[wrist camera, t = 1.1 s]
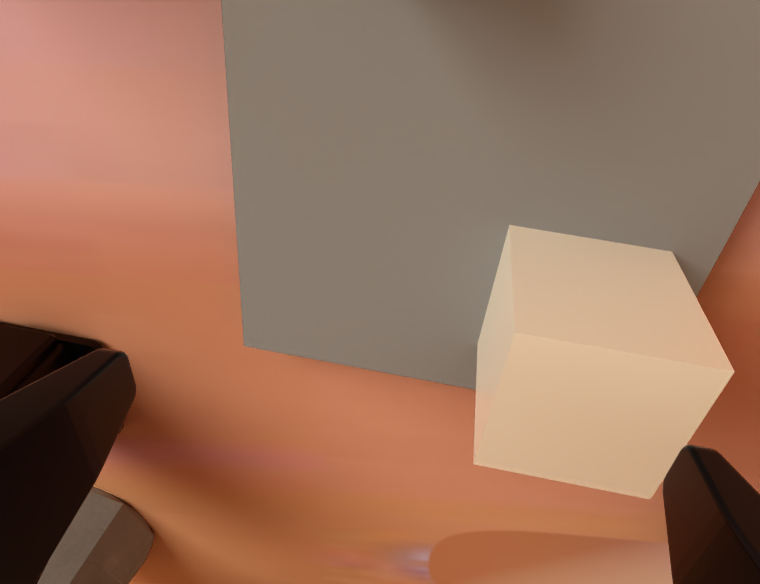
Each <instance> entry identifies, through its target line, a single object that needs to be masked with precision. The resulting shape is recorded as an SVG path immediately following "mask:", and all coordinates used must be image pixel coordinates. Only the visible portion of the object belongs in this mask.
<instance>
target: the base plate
mask: <svg viewBox="0 0 760 584" xmlns="http://www.w3.org/2000/svg"><path fill="white" fill-rule="evenodd" d="M221 5H222V20H223V35H224V50H225V65H226V80H227V95H228V111H229V126H230V141H231V156H232V171H233V186H234V202H235V217H236V232H237V247H238V262H239V277H240V292H241V308H242V323H243V338H244V346H247V347H252V348H257V349H262V350H268V351H273V352H278V353H284V354H289V355H294V356H299V357H305V358H310V359H315V360H321V361H326V362H331V363H336V364H342V365H347V366H352V367H358V368H363V369H368V370H373V371H379V372H384V373H389V374H395V375H400V376H405V377H410V378H416V379H421V380H426V381H432V382H437V383H442V384H447V385H453V386H458V387H463V388H469V389H474V390H476V372H477V344H478V340H479V336H480V333H481V329H482V325H483V321H484V318H485V314H486V310H487V306H488V303H489V299H490V295H491V292H492V288H493V284H494V280H495V277H496V273H497V269H498V265H499V262H500V258H501V254H502V250H503V247H504V243H505V239H506V235H507V232H508V228H509V225H514V226H520V227H526V228H532V229H538V230H544V231H550V232H556V233H562V234H568V235H574V236H580V237H587V238H593V239H599V240H605V241H611V242H617V243H623V244H629V245H635V246H641V247H647V248H653V249H659V250H665V251H671V252H673V254H674V256H675V258H676V260H677V262H678V264H679V266H680V268H681V270H682V271H683V273H684V275H685V277H686V279H687V281H688V283H689V285H690V287H691V289H692V291H693V293H694V294H695V296H696V297H697V295H698V294H699V292H700V290H701V288H702V286H703V284H704V283H705V281H706V279H707V277H708V275H709V273H710V272H711V270H712V268H713V266H714V264H715V262H716V261H717V259H718V257H719V255H720V253H721V251H722V250H723V248H724V246H725V244H726V242H727V240H728V239H729V237H730V235H731V233H732V231H733V229H734V228H735V226H736V224H737V222H738V220H739V218H740V216H741V215H742V213H743V211H744V209H745V207H746V205H747V204H748V202H749V200H750V198H751V196H752V194H753V193H754V191H755V189H756V187H757V185H758V183H759V182H760V0H221Z"/></svg>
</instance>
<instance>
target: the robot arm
mask: <svg viewBox="0 0 760 584" xmlns="http://www.w3.org/2000/svg"><path fill="white" fill-rule="evenodd" d="M135 395H136V384H135V380H134V377H133V373H132V370H131V366H130V363H129V359H128V357H127V355H126V354H125V353H124V352H122V351H117V350H111V349H105V348H103V347H102V346H101V345H100V344H99V343H98V342H96V341H93V340H89V339H84V338H79V337H74V336H69V335H64V334H58V333H53V332H48V331H43V330H38V329H32V328H27V327H22V326H17V325H12V324H6V323H1V322H0V584H37V583H38V581H39V579H40V577H41V575H42V573H43V571H44V569H45V567H46V565H47V563H48V561H49V559H50V558H51V556H52V554H53V553H54V551H55V549H56V548H57V546H58V544H59V543H60V541H61V539H62V538H63V536H64V534H65V532H66V531H67V529H68V527H69V526H70V524H71V522H72V521H73V519H74V517H75V516H76V514H77V512H78V511H79V509H80V507H81V506H82V504H83V502H84V501H85V499H86V497H87V496H88V494H89V492H90V490H91V489H92V487H93V485H94V483H95V482H96V480H97V478H98V476H99V474H100V472H101V470H102V468H103V466H104V464H105V461H106V459H107V457H108V455H109V453H110V451H111V448H112V446H113V444H114V442H115V440H116V438H117V436H118V434H119V433H120V431H121V430H122V429H123V427H124V420H125V418H126V416H127V414H128V412H129V410H130V407H131V405H132V403H133V401H134V398H135ZM663 498H664V507H665V517H666V526H667V535H668V544H669V553H670V561H671V571H672V579H673V584H760V494H759V493H758V492H757V491H756V490H755V489H754V488H753V487H752V486H751V485H750V484H749V483H748V482H747V481H746V480H745V479H744V478H743V477H742V476H741V475H740V474H739V473H738V472H737V470H736V469H735V468H734V467H733V466H732V465H731V464H730V463H729V462H728V461H727V460H726V459H725V458H724V457H723V456H722V455H721V454H720V453H719V452H717V451H716V450H714V449H711V448H706V447H700V446H694V445H686V446H684V447H683V448H682V449H681V450H680V452H679V454H678V455H677V457H676V459H675V460H674V462H673V464H672V466H671V467H670V469H669V471H668V472H667V474H666V476H665V478H664V482H663Z"/></svg>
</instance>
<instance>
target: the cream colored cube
mask: <svg viewBox="0 0 760 584" xmlns="http://www.w3.org/2000/svg"><path fill="white" fill-rule="evenodd" d="M734 372H735V371H734V369H733V367H732V366H731V364H730V362H729V360H728V358H727V356H726V354H725V352H724V350H723V348H722V346H721V344H720V343H719V341H718V339H717V337H716V335H715V333H714V331H713V329H712V327H711V325H710V323H709V321H708V319H707V318H706V316H705V314H704V312H703V310H702V308H701V306H700V304H699V302H698V300H697V298H696V296H695V294H694V293H693V291H692V289H691V287H690V285H689V283H688V281H687V279H686V277H685V275H684V273H683V271H682V270H681V268H680V266H679V264H678V262H677V260H676V258H675V256H674V254H673V252H671V251H665V250H659V249H653V248H647V247H641V246H635V245H629V244H623V243H617V242H611V241H605V240H599V239H593V238H587V237H580V236H574V235H568V234H562V233H556V232H550V231H544V230H538V229H532V228H526V227H520V226H514V225H509V228H508V232H507V235H506V239H505V243H504V247H503V250H502V254H501V258H500V262H499V265H498V269H497V273H496V277H495V280H494V284H493V288H492V292H491V295H490V299H489V303H488V306H487V310H486V314H485V318H484V321H483V325H482V329H481V333H480V336H479V340H478V344H477V372H476V402H475V432H474V462H473V464H475V465H480V466H485V467H490V468H495V469H500V470H505V471H510V472H515V473H520V474H525V475H530V476H535V477H540V478H545V479H550V480H555V481H560V482H565V483H570V484H575V485H580V486H585V487H590V488H595V489H600V490H605V491H610V492H615V493H620V494H625V495H630V496H635V497H640V498H645V499H651V498H652V496H653V495H654V493H655V492H656V490H657V489H658V487H659V486H660V484H661V482H662V481H663V479H664V478H665V476H666V474H667V472H668V471H669V469H670V467H671V466H672V464H673V462H674V460H675V459H676V457H677V455H678V454H679V452H680V450H681V449H682V448H683V447H684V446H686V445H687V443H688V442H689V440H690V439H691V437H692V436H693V434H694V433H695V431H696V430H697V428H698V427H699V425H700V424H701V422H702V421H703V419H704V418H705V416H706V415H707V413H708V411H709V410H710V408H711V407H712V405H713V404H714V402H715V401H716V399H717V398H718V396H719V395H720V393H721V392H722V390H723V389H724V387H725V386H726V384H727V383H728V381H729V380H730V378H731V377H732V375H733V374H734Z"/></svg>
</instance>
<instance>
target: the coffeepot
mask: <svg viewBox="0 0 760 584" xmlns="http://www.w3.org/2000/svg"><path fill="white" fill-rule="evenodd" d="M153 539H154V535H153V533H152V531H151V529H150V527H149V526H148V524H147V523H146V521H145V520H144V519H143V518H142V516H140V515H139V514H138V513H137V512H136V511H135V510H134V509H133V508H131V507H130V506H129V505H127V504H126V503H124V502H123V501H121V500H120V499H118V498H116V497H114V496H113V495H111V494H109V493H106V492H104V491H102V490H100V489H97V488H94V487H92V489H91V490H90V492H89V494H88V496H87V497H86V499H85V501H84V502H83V504H82V506H81V507H80V509H79V511H78V512H77V514H76V516H75V517H74V519H73V521H72V522H71V524H70V526H69V527H68V529H67V531H66V532H65V534H64V536H63V538H62V539H61V541H60V543H59V544H58V546H57V548H56V549H55V551H54V553H53V554H52V556H51V558H50V559H49V561H48V563H47V565H46V567H45V569H44V571H43V573H42V575H41V577H40V579H39V581H38V583H37V584H129V582H130V581H131V579H132V578H133V577H134V575H135V574H136V573H137V571H138V570H139V569H140V567H141V566H142V564H143V563H144V562H145V560H146V559H147V556H148V553H149V551H150V548H151V546H152V543H153Z"/></svg>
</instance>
